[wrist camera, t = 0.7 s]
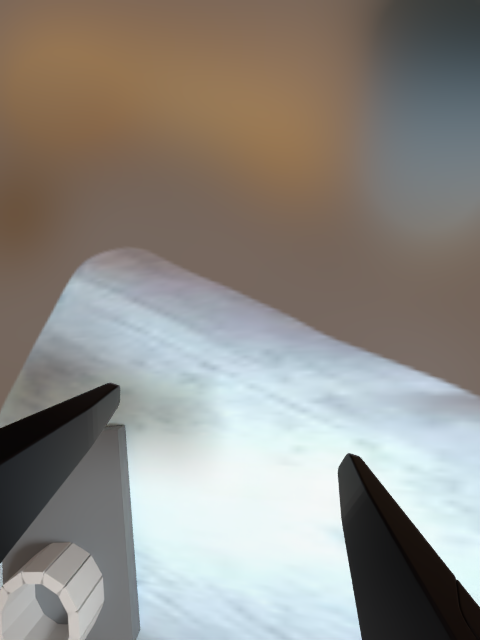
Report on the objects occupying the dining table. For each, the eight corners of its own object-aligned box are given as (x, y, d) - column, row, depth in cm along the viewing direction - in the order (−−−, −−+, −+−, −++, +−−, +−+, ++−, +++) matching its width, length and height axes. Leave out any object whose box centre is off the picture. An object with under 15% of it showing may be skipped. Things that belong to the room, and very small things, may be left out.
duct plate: (140, 629, 23) (112, 693, 19) (17, 626, 25) (-33, 684, 21) (124, 425, 25) (96, 443, 21) (10, 434, 27) (-38, 452, 22)
